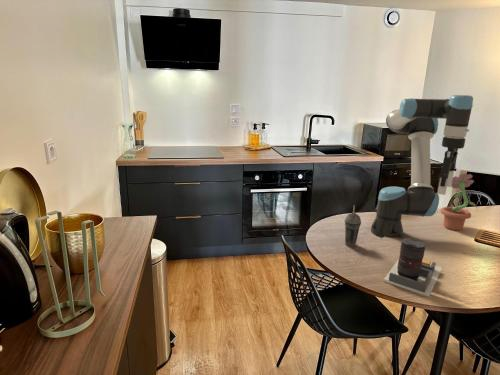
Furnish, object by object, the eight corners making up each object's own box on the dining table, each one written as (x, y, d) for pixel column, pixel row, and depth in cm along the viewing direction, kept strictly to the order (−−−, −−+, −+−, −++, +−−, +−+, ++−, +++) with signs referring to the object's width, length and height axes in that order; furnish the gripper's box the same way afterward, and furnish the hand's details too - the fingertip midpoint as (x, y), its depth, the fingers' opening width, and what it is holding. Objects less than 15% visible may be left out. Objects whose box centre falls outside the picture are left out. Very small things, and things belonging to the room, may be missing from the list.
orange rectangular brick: (406, 264, 142) (407, 258, 141) (408, 261, 145) (409, 255, 144) (428, 270, 138) (429, 264, 137) (429, 267, 140) (430, 261, 139)
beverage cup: (359, 243, 163) (364, 203, 157) (357, 249, 157) (362, 208, 151) (343, 240, 166) (347, 200, 160) (340, 246, 160) (345, 205, 154)
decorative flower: (463, 223, 187) (475, 170, 179) (474, 234, 174) (487, 177, 166) (434, 221, 190) (444, 168, 181) (443, 231, 177) (454, 175, 168)
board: (383, 281, 132) (384, 272, 131) (400, 257, 150) (402, 249, 149) (429, 296, 123) (431, 287, 121) (441, 269, 141) (443, 260, 140)
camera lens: (418, 286, 127) (425, 249, 123) (395, 280, 131) (400, 244, 126) (419, 275, 134) (426, 240, 130) (397, 270, 138) (402, 236, 133)
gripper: (461, 142, 120) (449, 199, 127) (469, 134, 139) (459, 184, 146) (437, 139, 125) (427, 195, 131) (448, 132, 144) (439, 181, 150)
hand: (444, 190), depth 138 cm, fingers open, 13 cm apart
